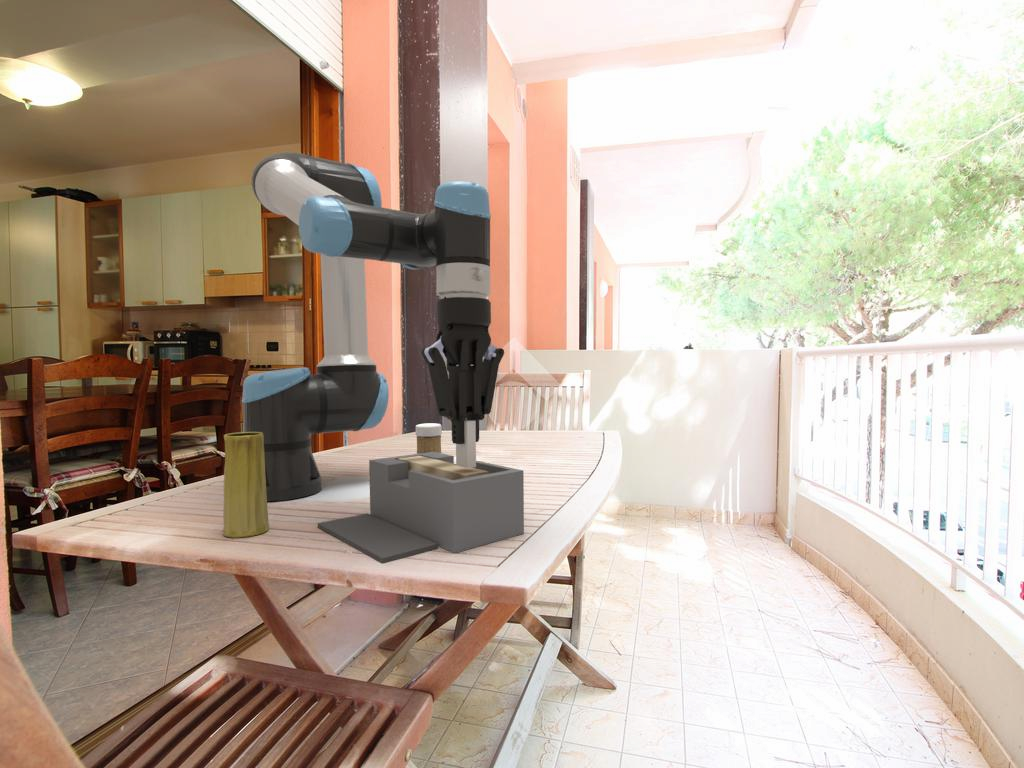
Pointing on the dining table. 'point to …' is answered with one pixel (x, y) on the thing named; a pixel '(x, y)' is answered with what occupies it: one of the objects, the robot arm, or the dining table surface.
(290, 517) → the dining table surface
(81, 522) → the dining table surface
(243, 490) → the vase
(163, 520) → the dining table surface
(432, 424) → the sprinkles bottle
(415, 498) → the pocket block
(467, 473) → the birch bar
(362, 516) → the rubber mat
